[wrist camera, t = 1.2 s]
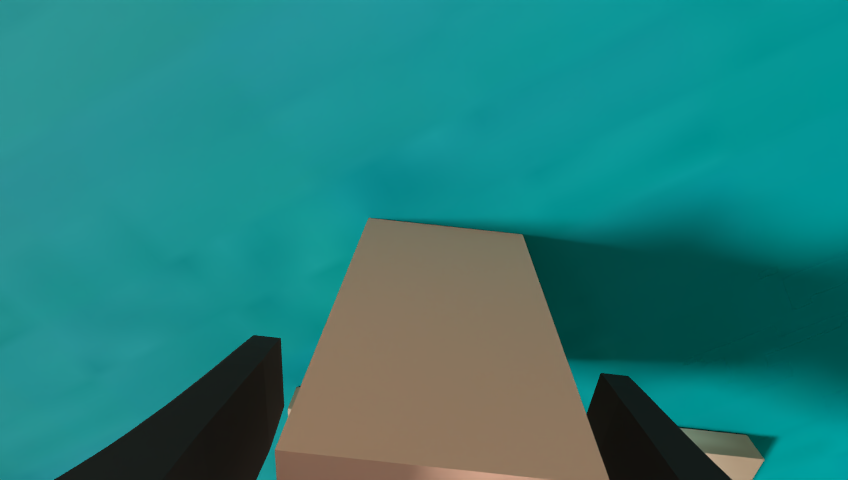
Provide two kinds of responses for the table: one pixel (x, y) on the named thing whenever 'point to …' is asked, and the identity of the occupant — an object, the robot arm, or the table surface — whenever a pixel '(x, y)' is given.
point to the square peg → (438, 368)
